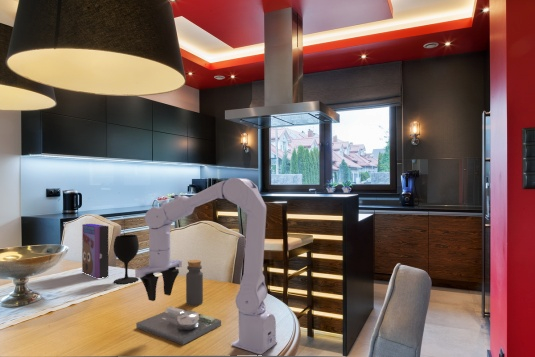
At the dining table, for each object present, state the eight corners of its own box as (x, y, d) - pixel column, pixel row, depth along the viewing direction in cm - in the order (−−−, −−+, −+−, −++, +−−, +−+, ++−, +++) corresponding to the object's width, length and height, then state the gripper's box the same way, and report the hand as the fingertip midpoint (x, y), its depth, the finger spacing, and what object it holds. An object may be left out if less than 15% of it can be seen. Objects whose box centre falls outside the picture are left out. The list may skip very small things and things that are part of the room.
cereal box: (82, 273, 164) (82, 224, 165) (92, 271, 168) (92, 223, 168) (97, 279, 153) (97, 226, 153) (108, 277, 156) (108, 225, 157)
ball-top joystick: (203, 324, 97) (203, 311, 97) (187, 331, 92) (187, 318, 92) (174, 315, 104) (173, 303, 104) (158, 321, 99) (158, 309, 99)
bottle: (195, 299, 124) (195, 258, 125) (206, 302, 121) (206, 260, 121) (182, 303, 120) (182, 261, 120) (193, 307, 116) (193, 263, 117)
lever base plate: (221, 325, 101) (221, 316, 101) (182, 345, 88) (182, 335, 88) (175, 311, 112) (175, 304, 112) (136, 328, 99) (136, 319, 99)
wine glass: (136, 276, 157) (136, 233, 157) (140, 281, 148) (140, 236, 148) (112, 280, 151) (112, 235, 152) (115, 285, 143) (115, 238, 143)
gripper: (170, 244, 104) (170, 288, 103) (128, 252, 92) (128, 302, 91) (186, 246, 100) (186, 292, 100) (144, 254, 88) (144, 307, 87)
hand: (159, 297), depth 95 cm, fingers open, 5 cm apart
